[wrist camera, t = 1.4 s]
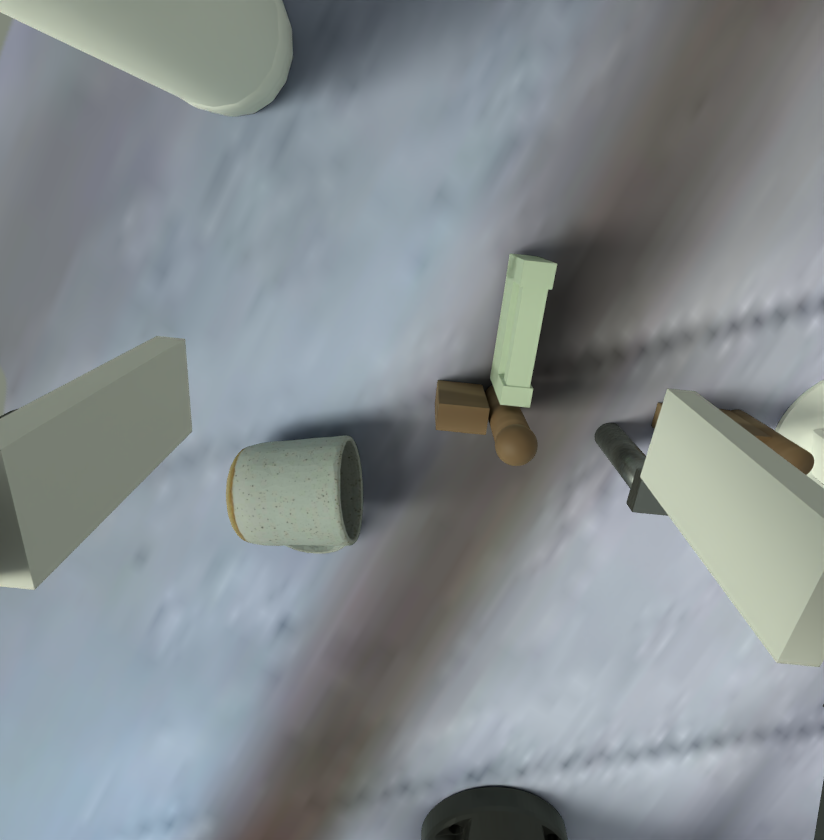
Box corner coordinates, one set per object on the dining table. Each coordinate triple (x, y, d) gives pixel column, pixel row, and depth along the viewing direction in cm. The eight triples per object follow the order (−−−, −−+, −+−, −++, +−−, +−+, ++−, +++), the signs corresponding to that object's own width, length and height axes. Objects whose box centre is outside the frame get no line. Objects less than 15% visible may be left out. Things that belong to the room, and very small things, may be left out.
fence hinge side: (511, 415, 38) (537, 475, 30) (434, 407, 38) (436, 465, 30) (517, 384, 38) (545, 436, 29) (438, 376, 38) (441, 425, 29)
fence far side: (742, 436, 39) (806, 481, 32) (651, 427, 39) (696, 470, 32) (751, 410, 38) (819, 451, 31) (658, 401, 38) (706, 440, 31)
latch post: (620, 452, 39) (672, 516, 31) (588, 448, 39) (632, 512, 31) (628, 422, 38) (684, 479, 30) (596, 418, 38) (642, 475, 30)
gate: (515, 380, 37) (529, 407, 32) (490, 378, 37) (500, 404, 32) (537, 256, 34) (557, 263, 29) (509, 253, 34) (524, 260, 29)
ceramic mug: (246, 428, 40) (207, 478, 32) (354, 418, 39) (337, 466, 32) (276, 546, 44) (246, 613, 36) (374, 538, 43) (363, 604, 36)
